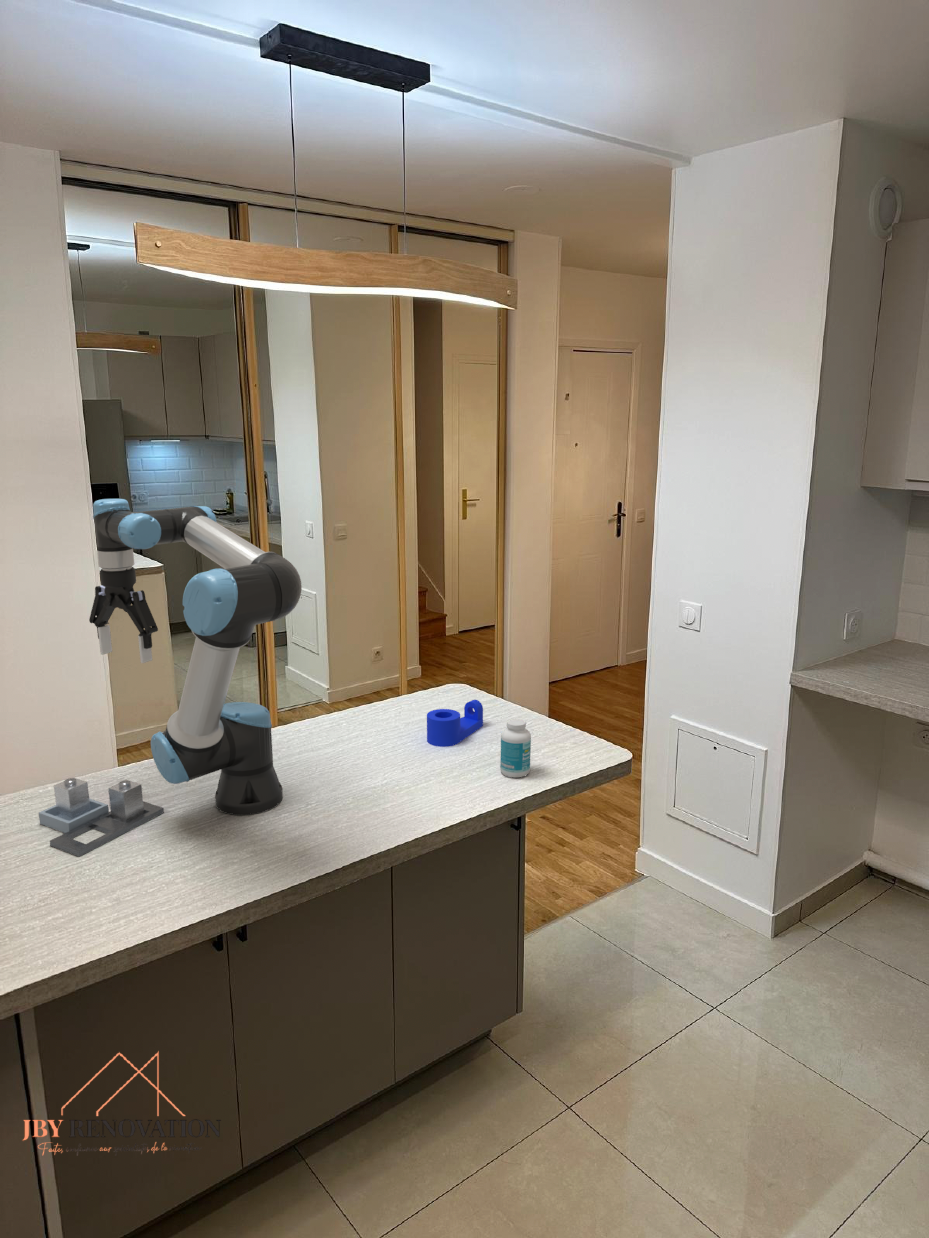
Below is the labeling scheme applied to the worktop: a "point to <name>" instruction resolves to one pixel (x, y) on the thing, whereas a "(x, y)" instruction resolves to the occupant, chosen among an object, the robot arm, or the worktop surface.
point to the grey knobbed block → (126, 801)
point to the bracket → (453, 724)
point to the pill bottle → (515, 749)
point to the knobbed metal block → (72, 798)
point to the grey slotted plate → (103, 825)
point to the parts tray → (57, 823)
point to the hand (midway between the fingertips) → (126, 657)
